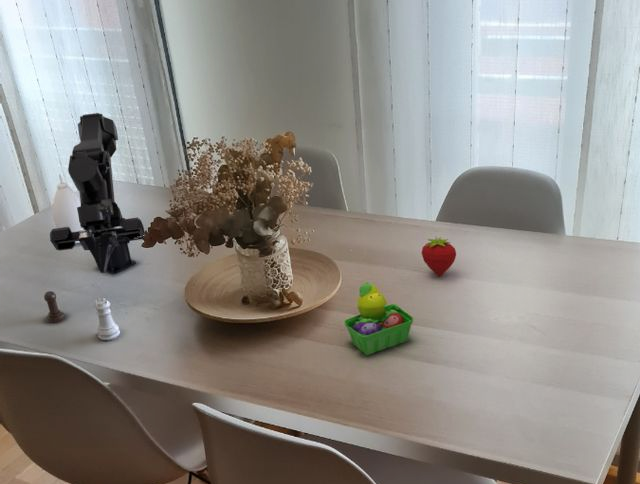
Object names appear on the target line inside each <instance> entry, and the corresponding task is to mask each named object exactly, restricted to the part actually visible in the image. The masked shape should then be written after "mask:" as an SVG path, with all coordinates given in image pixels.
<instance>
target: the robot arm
mask: <svg viewBox="0 0 640 484" xmlns="http://www.w3.org/2000/svg"><path fill="white" fill-rule="evenodd" d="M77 131H78V137H79V143H77V144H76V145H74V146H73V148H72V152H71V155H70V156H69V159H68V160H69V161H68V167H67V172H68V174H69V177H70V179H71V180H72V182H73V184H74V186H75V187H76V188H75V189H77V191H78V192H79V193H78V194H79V199H80V203H81V207H77V211H78V217H79V223H80V226H81V228H83V230H80V231H78V232H71V230H70V228H69V227H63V228H57V227H55V228H52V229H51V230H50V232H49V240H50V243H51V245H53V247H54V249H55V250H56V251H59V252H60V251H66V250H73V249H74V248H75V246H76V243H75V241H79V244H80V246H81V247H82V249H83V250H84V251H89V252H90V254H91V255H92V257H93V259H94V262H95V264H96V266H97V268H98V270H99V272H100V274H105V273H106V272H109V273H111V274H115V275H116V274H118V273H120V272H122V271H125V270H126V269H129V268H130V267H132V266H135V265H136V264H137V263H136V262H137V261H136V260H133V259H132V257H131V252H130V249H129V244H130V242H132V241H141V240H144V239H143V238H138V239H134V237H137V236H143V235H144V234H145V235H146V232H145V227H144V224H143V221H142V219H140V218H139V217H138V216H137V217H130V218H125V217H123V215H122V212H121V209H120V207H119V205H118V204H117V202H116V201H115V191H114V190H115V189H114V180H113V169H112V168H113V167H112V159H111V158H112V157H113V155H114V154H115V152H116V151H117V141H119V134H118V129H117V126H116V124H115V122H114V120H113V119H111V118H108V117H106V116H104V114H103V113H100V112H94V113H86V114H83V115H80V116H79V122H78V124H77Z"/></svg>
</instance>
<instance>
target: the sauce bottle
mask: <svg viewBox="0 0 640 484" xmlns="http://www.w3.org/2000/svg"><path fill="white" fill-rule="evenodd" d="M58 176H59V177H58V178H59V181H60V182H59V183H57V185H56V188H57V189H56V190H55V193H54V197H53V203H52V216H53V222H54V224H55V228H63V227H69V228H70V230H71V232H78V231H80V230H83V228H81V226H80V223H79V217H78V211H77V207H81V203H80V196H79V195H78V194H77V192H76V191H74V190H73V188H71V186H69V184H68V182H63V178H62V175H61V173H59V175H58ZM75 244H80V242H79V241H75Z"/></svg>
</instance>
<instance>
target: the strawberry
mask: <svg viewBox="0 0 640 484" xmlns="http://www.w3.org/2000/svg"><path fill="white" fill-rule="evenodd" d="M427 240H428V241H429V242H427V243H426V244H424V246H422V248H421V256H422V259H423V261H424V263H425V264H426V266H427V267H428V268H429V270H431V271H432V272H433V273H434V275H435V276H437V277H441V276H443V275H444V274H445V273H446V272H447V271H448V270H449V269H450V268H451V267H452V265H453V264H454V263H455V260H456V257H457V251H456V247H454V246H453V245H452V244H451V242H450V241H448V240H449V239H446V238H445V239H442V236H440V237H439V238H437V237H435V239H432V238H427Z"/></svg>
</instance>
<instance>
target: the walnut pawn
mask: <svg viewBox="0 0 640 484" xmlns="http://www.w3.org/2000/svg"><path fill="white" fill-rule="evenodd" d="M43 298H44V301H45V302H46V303H47V308H48V310H49V311H48V314H47V316H46V318H47V321H48V322H49V323H50V324H56V323H60V322H62V321H63V320H65V314H64V312H63V311H61V309H59V307H58V303H57V294H56V293H55V292H54V291H51V290H49V291H46V292H45V294H44V295H43Z"/></svg>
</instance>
